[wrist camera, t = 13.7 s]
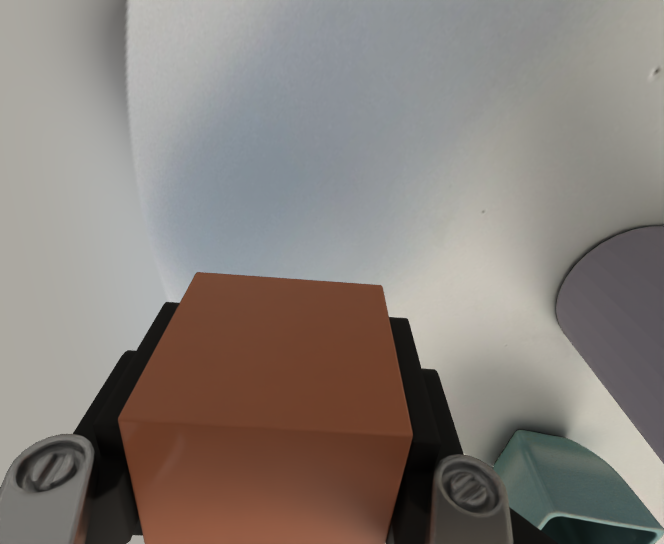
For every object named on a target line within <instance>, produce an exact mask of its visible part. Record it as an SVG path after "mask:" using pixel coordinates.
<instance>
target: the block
mask: <svg viewBox="0 0 664 544" xmlns="http://www.w3.org/2000/svg"><path fill="white" fill-rule="evenodd" d="M118 423H119V428H120V432H121V437H122V441H123V446H124V450H125V455H126V460H127V464H128V469H129V473H130V478H131V483H132V487H133V492H134V496H135V501H136V505H137V510H138V515H139V519H140V524H141V528H142V533H143V537H144V542H145V544H385V542H386V538H387V534H388V530H389V526H390V522H391V518H392V515H393V511H394V507H395V503H396V499H397V495H398V491H399V488H400V484H401V480H402V476H403V472H404V468H405V464H406V461H407V457H408V453H409V449H410V445H411V441H412V437H413V432H412V427H411V422H410V417H409V412H408V407H407V403H406V398H405V393H404V388H403V383H402V378H401V374H400V369H399V364H398V359H397V354H396V349H395V345H394V340H393V335H392V330H391V325H390V320H389V316H388V311H387V306H386V301H385V296H384V291H383V287H382V286H381V285H371V284H357V283H343V282H329V281H315V280H301V279H287V278H273V277H259V276H245V275H231V274H217V273H203V272H197V273H196V274H195V276H194V278H193V280H192V282H191V283H190V285H189V287H188V289H187V291H186V293H185V295H184V296H183V298H182V300H181V302H180V304H179V306H178V308H177V309H176V311H175V313H174V315H173V317H172V319H171V321H170V322H169V324H168V326H167V328H166V330H165V332H164V334H163V335H162V337H161V339H160V341H159V343H158V345H157V347H156V348H155V350H154V352H153V354H152V356H151V358H150V360H149V361H148V363H147V365H146V367H145V369H144V371H143V373H142V375H141V376H140V378H139V380H138V382H137V384H136V386H135V388H134V389H133V391H132V393H131V395H130V397H129V399H128V401H127V402H126V404H125V406H124V408H123V410H122V412H121V414H120V415H119V417H118Z"/></svg>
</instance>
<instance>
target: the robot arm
mask: <svg viewBox="0 0 664 544" xmlns="http://www.w3.org/2000/svg"><path fill="white" fill-rule="evenodd" d="M179 304H180V303H174V302H166V303H165V304H164V305H163V307H162V308H161V310H160V312H159V313H158V315H157V317H156V318H155V320H154V322H153V324H152V325H151V327H150V329H149V330H148V332H147V334H146V335H145V337H144V339H143V341H142V342H141V344H140V345H139V347H138V349H137V351H131V350H128V351H126V352H125V353H124V354H123V355H122V356H121V358H120V359H119V361H118V363H117V364H116V366H115V367H114V369H113V371H112V372H111V374H110V376H109V377H108V379H107V380H106V382H105V384H104V385H103V387H102V388H101V390H100V391H99V393H98V395H97V396H96V398H95V400H94V401H93V403H92V404H91V406H90V407H89V409H88V410H87V412H86V414H85V415H84V417H83V418H82V420H81V422H80V423H79V425H78V427H77V428H76V430H75V431H74V433H73V434H60V435H56V436H52V437H48V438H46V439H43V440H41V441H39V442H36V443H35V444H33V445H32V446H30V447H29V448H27V449H26V450H24V451H23V452H22V453H21V454H20V455H19V456H18V457H17V458H16V459H15V460H14V461H13V463H12V465H11V466H10V468H9V469H8V471H7V473H6V476H5V478H4V480H3V483H2V485H1V487H0V544H126V543H128V542H129V541H130V540H131V537H132V535H143V533H142V528H141V524H140V519H139V515H138V510H137V505H136V501H135V496H134V492H133V487H132V483H131V478H130V473H129V469H128V464H127V460H126V455H125V450H124V446H123V441H122V437H121V432H120V428H119V423H118V417H119V415H120V414H121V412H122V410H123V408H124V406H125V404H126V402H127V401H128V399H129V397H130V395H131V393H132V391H133V389H134V388H135V386H136V384H137V382H138V380H139V378H140V376H141V375H142V373H143V371H144V369H145V367H146V365H147V363H148V361H149V360H150V358H151V356H152V354H153V352H154V350H155V348H156V347H157V345H158V343H159V341H160V339H161V337H162V335H163V334H164V332H165V330H166V328H167V326H168V324H169V322H170V321H171V319H172V317H173V315H174V313H175V311H176V309H177V308H178V306H179ZM389 320H390V325H391V330H392V335H393V340H394V345H395V349H396V354H397V359H398V364H399V369H400V374H401V378H402V383H403V388H404V393H405V398H406V403H407V407H408V412H409V417H410V422H411V427H412V432H413V437H412V441H411V445H410V449H409V453H408V457H407V461H406V464H405V468H404V472H403V476H402V480H401V484H400V488H399V491H398V495H397V499H396V503H395V507H394V511H393V515H392V518H391V522H390V526H389V530H388V534H387V538H386V544H558V543H557V542H556V541H554V540H553V539H552V538H550V537H549V536H548V535H546V534H545V533H544V532H542V531H541V530H540V529H538V528H537V527H536V526H534V525H533V524H532V523H530V522H529V521H528V520H526V519H525V518H524V517H522V516H521V515H520V514H518V513H517V512H516V511H514V510H513V509H512V508H510V507H509V501H508V494H507V491H506V487H505V485H504V483H503V481H502V480H501V478H500V476H499V475H498V474H497V473H496V472H495V471H494V470H493V469H492V468H491V467H490V466H489V465H487V464H486V463H484V462H482V461H481V460H479V459H476V458H474V457H471V456H467V455H464V454H463V451H462V448H461V445H460V442H459V438H458V435H457V432H456V429H455V426H454V422H453V419H452V416H451V413H450V410H449V407H448V403H447V400H446V397H445V394H444V391H443V387H442V384H441V381H440V378H439V375H438V373H437V371H436V370H435V369H421V365H420V362H419V358H418V354H417V350H416V347H415V343H414V339H413V336H412V332H411V328H410V324H409V321H408V319H407V318H394V317H389Z"/></svg>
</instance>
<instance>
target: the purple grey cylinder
mask: <svg viewBox="0 0 664 544" xmlns="http://www.w3.org/2000/svg"><path fill="white" fill-rule="evenodd" d="M556 315H557V319H558V323H559V325H560V327H561V329H562V331H563V333H564V334H565V335H566V337H567V338H568V339H569V341H570V342H571V343H572V345H573V346H574V347H575V348H576V350H577V351H578V352H579V354H580V355H581V356H582V358H583V359H584V360H585V362H586V363H587V364H588V365H589V367H590V368H591V369H592V371H593V372H594V373H595V375H596V376H597V377H598V379H599V380H600V381H601V382H602V384H603V385H604V386H605V388H606V389H607V390H608V392H609V393H610V394H611V395H612V397H613V398H614V399H615V401H616V402H617V403H618V405H619V406H620V407H621V409H622V410H623V411H624V412H625V414H626V415H627V416H628V418H629V419H630V420H631V422H632V423H633V424H634V426H635V427H636V428H637V429H638V431H639V432H640V433H641V435H642V436H643V437H644V439H645V440H646V441H647V443H648V444H649V445H650V446H651V448H652V449H653V450H654V452H655V453H656V454H657V456H658V457H659V458H660V460H661V461H662V462H663V463H664V226H657V227H645V228H639V229H633V230H630V231H628V232H625V233H622V234H619V235H617V236H615V237H613V238H611V239H609V240H607V241H605V242H603V243H601V244H600V245H598V246H597V247H596V248H594V249H593V250H591V251H590V252H589V253H587V254H586V255H585V256H584V257H583V258H582V259H581V260H580V261H579V262H578V263H577V264H576V265H575V266H574V267H573V269H572V270H571V271H570V273H569V274H568V275H567V277H566V279H565V281H564V283H563V285H562V286H561V288H560V291H559V295H558V299H557V305H556Z"/></svg>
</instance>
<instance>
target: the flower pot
mask: <svg viewBox="0 0 664 544" xmlns="http://www.w3.org/2000/svg"><path fill="white" fill-rule="evenodd" d="M493 470H494V471H495V472H496V473H497V474H498V475H499V476H500V478H501V480H502V481H503V483H504V485H505V487H506V491H507V494H508V501H509V507H510V508H512V509H513V510H514V511H516V512H517V513H518V514H520V515H521V516H522V517H524V518H525V519H526V520H528V521H529V522H530V523H532V524H533V525H534V526H536V527H537V528H538V529H540V530H541V531H542V532H544V533H545V534H546V535H548V536H549V537H550V538H552V539H553V540H554V541H556V542H557V543H558V544H655V543H656V542H657V541H658V540H659V539H660V538H661V537H662V536H663V534H664V528H663V527H662V526H661V525H660V524H659V522H658V521H657V520H656V519H655V517H654V516H653V515H652V514H651V512H650V511H649V510H648V509H647V507H646V506H645V505H644V504H643V503H642V501H641V500H640V499H639V498H638V496H637V495H636V494H635V493H634V492H633V490H632V489H631V488H630V487H629V486H628V484H627V483H626V482H625V481H624V480H623V478H622V477H621V476H620V475H619V474H618V473H617V472H616V471H615V470H614V469H613V468H612V467H611V466H610V465H609V464H608V463H606V462H605V461H604V460H603V459H601V458H600V457H599V456H597V455H596V454H594V453H593V452H591V451H590V450H588V449H587V448H585V447H583V446H581V445H580V444H578V443H576V442H574V441H572V440H570V439H567V438H563V437H557V436H552V435H546V434H541V433H536V432H531V431H526V430H518V431H516V432H515V434H514V435H513V436H512V438H511V440H510V441H509V443H508V444H507V446H506V448H505V449H504V451H503V452H502V453H501V455H500V456H499V458H498V459H497V461H496V462H495V464H494V467H493Z"/></svg>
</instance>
